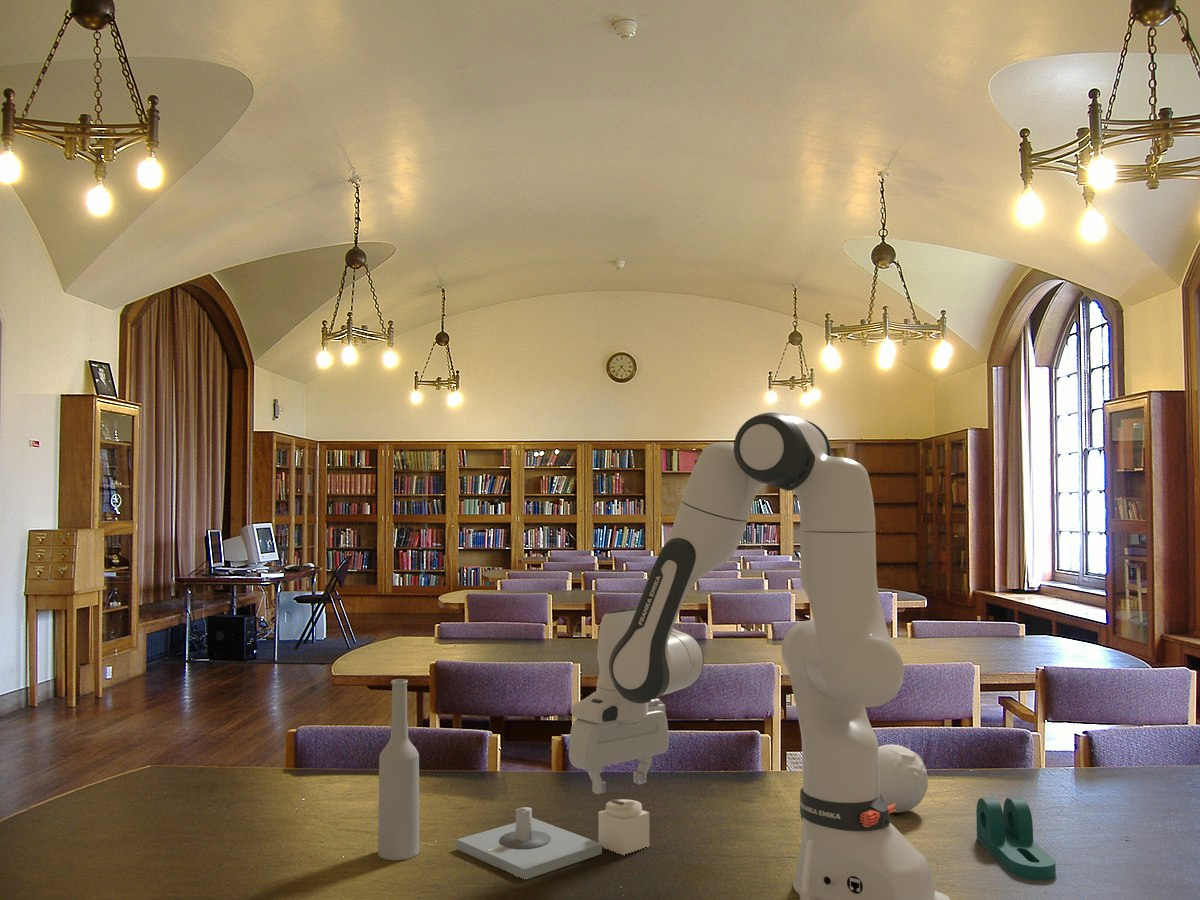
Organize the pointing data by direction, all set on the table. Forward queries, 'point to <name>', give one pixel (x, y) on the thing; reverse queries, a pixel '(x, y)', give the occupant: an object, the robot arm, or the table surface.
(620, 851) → the knob
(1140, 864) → the table surface
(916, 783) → the decorative ball
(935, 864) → the table surface
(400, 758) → the bottle
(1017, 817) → the bracket
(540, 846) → the panel
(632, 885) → the table surface
